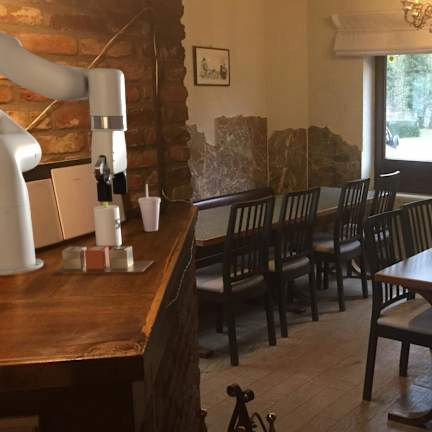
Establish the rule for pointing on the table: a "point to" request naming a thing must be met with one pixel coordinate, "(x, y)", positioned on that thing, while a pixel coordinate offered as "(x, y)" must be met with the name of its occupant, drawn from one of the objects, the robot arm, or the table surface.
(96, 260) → the three-striped orange cube
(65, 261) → the tile
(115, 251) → the tile
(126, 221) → the table surface
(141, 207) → the smoothie
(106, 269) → the letter board
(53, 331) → the table surface
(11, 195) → the robot arm
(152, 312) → the table surface
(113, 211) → the candle
